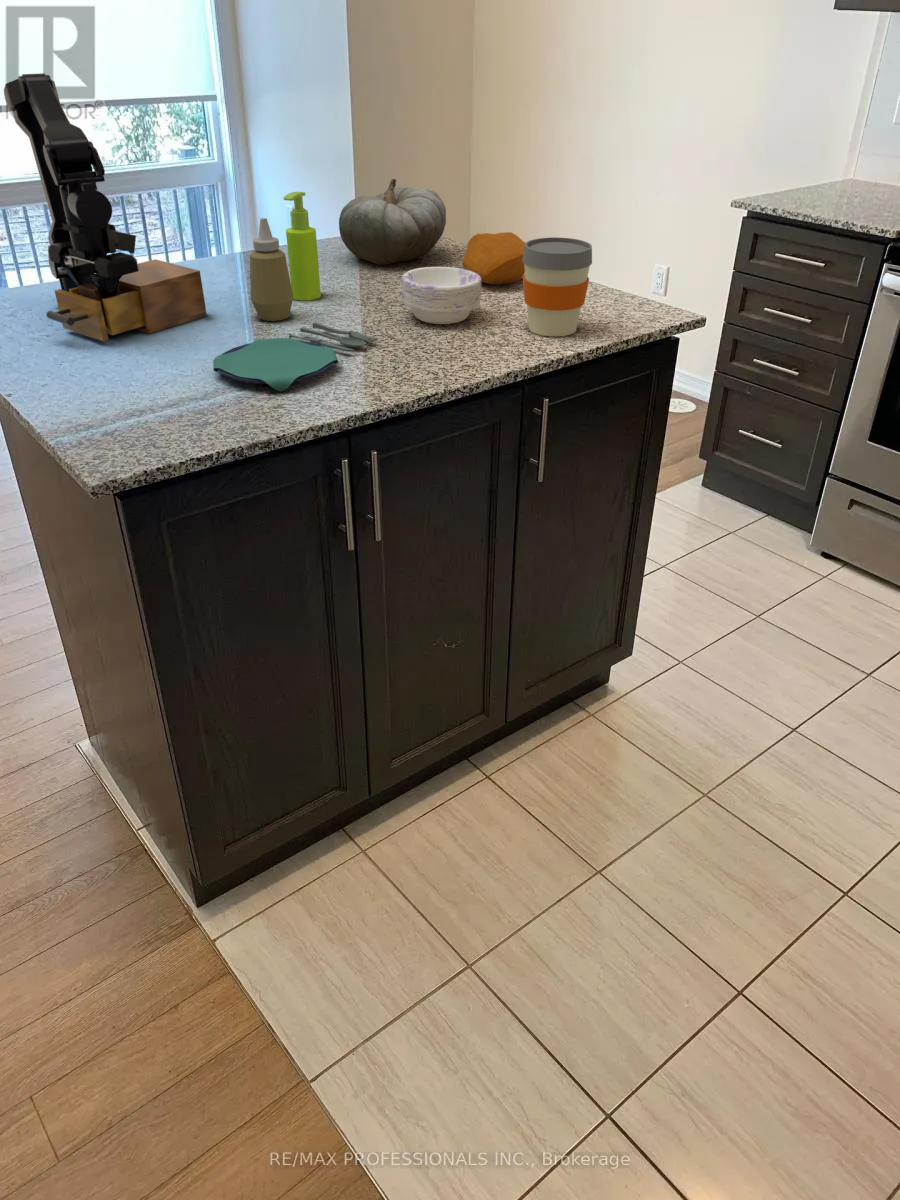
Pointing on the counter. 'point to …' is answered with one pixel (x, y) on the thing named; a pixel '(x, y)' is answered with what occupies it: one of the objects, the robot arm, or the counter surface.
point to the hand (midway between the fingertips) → (103, 307)
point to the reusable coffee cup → (555, 283)
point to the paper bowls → (441, 293)
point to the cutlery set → (285, 357)
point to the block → (93, 293)
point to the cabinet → (166, 294)
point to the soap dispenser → (302, 252)
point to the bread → (495, 257)
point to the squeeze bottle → (269, 277)
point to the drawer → (98, 313)
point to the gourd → (393, 224)
